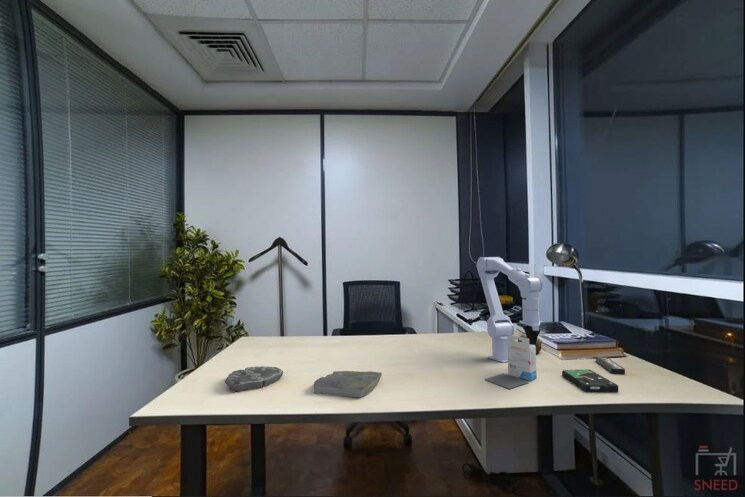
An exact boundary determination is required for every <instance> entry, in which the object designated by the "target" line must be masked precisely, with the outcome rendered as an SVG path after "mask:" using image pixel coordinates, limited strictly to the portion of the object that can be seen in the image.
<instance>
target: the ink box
mask: <svg viewBox="0 0 745 497" xmlns="http://www.w3.org/2000/svg"><path fill="white" fill-rule="evenodd" d="M507 337H508V343H507V348H508V362H507V373H508V374H507V375H509V376H512V377H515V378H518V379H521V380H524V381H528V382H531V381H533V380H535V379H537V373H538V372H537V353H536V345H531V344H529V338H523V337H520V336H516V335H512V336H511V335H508V336H507ZM518 339H519V340H521V341H522V342H518Z"/></svg>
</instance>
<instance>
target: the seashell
mask: <svg viewBox="0 0 745 497" xmlns="http://www.w3.org/2000/svg"><path fill="white" fill-rule="evenodd" d="M519 337H523V338H527V337H526V334H525V333H523V334H521V335H520V336H519ZM517 341H518V342H522V341H521V340H519V339H517ZM542 343H543V342H542V339H541V338H539V337H537V342H536V354H538V353H540V352H541V351H542V346H543V345H542Z"/></svg>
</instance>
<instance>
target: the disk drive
mask: <svg viewBox="0 0 745 497" xmlns="http://www.w3.org/2000/svg"><path fill="white" fill-rule="evenodd" d="M561 375H562V377H563V378H565V379H566V380H568V381H570V383H573V385H575V386H577V387H578V388H579V389H581V390H583V391H584V392H585V393H619V385H618V384H616V383H614V382H613V381H611V380H609V379H608V378H605V377H604V376H602V375H600V374H599V373H597V372H595V371H593V370H591V369H562V371H561Z"/></svg>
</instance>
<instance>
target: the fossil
mask: <svg viewBox="0 0 745 497" xmlns="http://www.w3.org/2000/svg"><path fill="white" fill-rule="evenodd" d="M382 375H383V373H382V372H378V371H371V370H370V371H353V370H337V371H336V370H335V371H333V372H332V373H331V374H330V373H329V374H327V375H326V376H321V377H319V378H318V379H316V380H315V381H313V382H314V383H313V393H315V394H317V395H322V396H324V395H325V396H333V397H351V398H363V397H365V396H367V395H370V394H371V393H373V392H372V391H374V390H375V389H376V387H377V386H378V384H379V382H380V381H381V378H382Z"/></svg>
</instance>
